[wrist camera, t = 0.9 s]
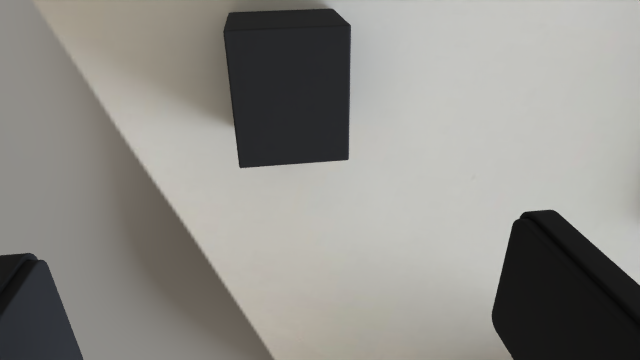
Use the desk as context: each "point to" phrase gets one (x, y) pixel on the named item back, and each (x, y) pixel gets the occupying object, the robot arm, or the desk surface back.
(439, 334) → the desk surface
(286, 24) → the dark grey block
